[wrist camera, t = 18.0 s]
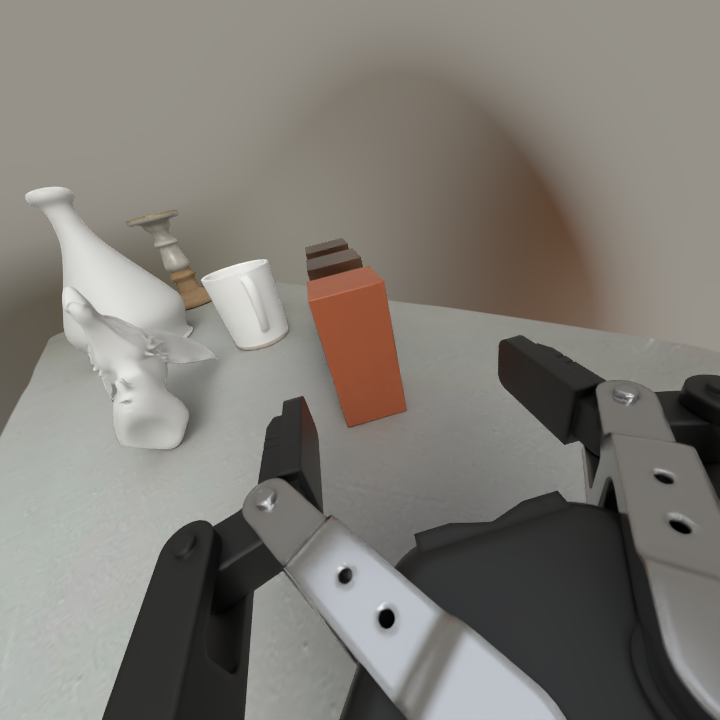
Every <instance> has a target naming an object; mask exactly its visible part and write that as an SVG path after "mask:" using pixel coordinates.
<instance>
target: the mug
mask: <svg viewBox="0 0 720 720" xmlns="http://www.w3.org/2000/svg"><path fill="white" fill-rule="evenodd" d="M201 282H202V284H203V285H204V287H205V289H206V291H207V293H208V295H209V296H210V298H211V300H212V302H213V304H214V305H215V307H216V309H217V311H218V313H219V314H220V316H221V318H222V320H223V322H224V324H225V325H226V327H227V329H228V331H229V333H230V334H231V336H232V338H233V340H234V342H235V344H236V345H237V347H238V348H240V349H241V350H256V349H260V348H264V347H267V346H269V345H272V344H274V343H276V342H278V341H279V340H281V339H282V338H284V337H285V336H286V335H287V333H288V331H289V326H288V323H287V320H286V316H285V313H284V310H283V307H282V304H281V301H280V297H279V294H278V291H277V288H276V285H275V282H274V278H273V275H272V272H271V269H270V266H269V263H268V261H267V260H265V259H261V260H254V261H249V262H244V263H241V264H237V265H233V266H230V267H227V268H224V269H221V270H218V271H216V272H213V273H211V274H209V275H207V276H205V277H204V278H202V279H201Z"/></svg>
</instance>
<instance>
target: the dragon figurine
mask: <svg viewBox="0 0 720 720" xmlns="http://www.w3.org/2000/svg"><path fill="white" fill-rule="evenodd" d="M62 304H63V308H64V310H65V312H67V313H68V314H70V315H71V316H72V318H73V319H74V320H75V321H76V322H77V323H78V324H80V325H81V327H82V328H83V330H84V332H85V334H86V336H87V339H88V355H89V357H90V363H91V364H93V365H94V368H93V370H94V371H97V370H99V376H101V377H102V381H103V384H104V387H105V389H106V391H107V393H108V394H109V396H110V398H111V400H112V398H113V397H114V395H115V394H116V396H115V399H114V401H113V400H112V401H113V402H114V404H113V424H114V430H115V434H116V437H117V440H118V441H119V443H120V444H122V445H124V446H127V447H131V448H140V449H173V448H175V447H177V446H178V445H179V444H180V443H181V442H182V440H183V437H184V434H185V430H186V427H187V423H188V419H189V412H188V409H187V408H186V406H185V405H184V404H183V403H182V402H181V401H180V400H179V399H178V398H176V397H175V396H173V395H172V394H171V393H170V392H168V391H167V389H166V380H167V363H168V362H172V363H177V364H188V363H194V362H198V361H204V360H207V359H212V358H216V359H218V358H217V357H216V356H215V355H214V354H213V353H212V352H211V351H210V350H209V349H208V348H206V347H205V346H204V345H202V344H200V343H198V342H196V341H194V340H192V339H190V338H187V337H184V336H181V335H178V334H175V333H172V332H166V331H160V330H153V329H144V328H137V327H135V326H133V325H132V324H130V323H128V322H126V321H124V320H122V319H119V318H117V317H114V316H109V315H101V314H100V313H98V312H97V311H96V309H95V308H94V307H93V306H92V304H91V303H90V302H89V301H88V300H87V299H86V298H85V297H84V296H83V295H82V294H81V293H80V292H79V291H78V290H76V289H75V288H73V287H70V286H67V287H65V288H64V290H63V294H62Z"/></svg>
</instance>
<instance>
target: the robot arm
mask: <svg viewBox="0 0 720 720" xmlns="http://www.w3.org/2000/svg"><path fill="white" fill-rule="evenodd" d="M498 376H499V379H500V382H501V384H502V385H503V387H504V388H505V389H506V390H507V391H508V392H509V393H510V394H511V395H513V396H514V397H515V398H516V399H517V400H518V401H519V402H520V403H521V404H522V405H523V406H524V407H525V408H526V409H527V410H528V411H529V412H530V413H531V414H533V415H534V416H535V417H536V418H537V419H538V420H539V421H540V422H541V423H542V424H543V425H544V426H545V427H546V428H547V429H548V430H549V431H550V432H551V433H553V434H554V435H555V436H556V437H557V438H558V439H559V440H560V441H561V442H562V443H563V444H564V445H566V444H569V443H573V442H576V441H580V442H581V443H582V444H583V447H582V460H583V469H584V479H585V488H586V503H578V502H567V501H566V500H565V499H564V498H563V496H562V495H561V494H560V493H559V492H558V491H555V492H551V493H548V494H545V495H541V496H538V497H535V498H532V499H528V500H525V501H522V502H521V503H519V504H518V505H516V506H515V507H513V508H512V509H510V510H509V511H508V512H506V513H505V514H503V515H502V516H500V517H499V518H497V519H496V520H494V521H491V522H476V523H449V524H446V525H443V526H439V527H436V528H433V529H429V530H426V531H423V532H420V533H416V534H414V536H415V540H416V545H417V546H416V547H415V548H413V549H412V550H410V551H409V552H408V553H407V554H406V555H405V556H404V557H403V558H402V559H401V560H400V561H399V562H398V563H397V565H396V566H395V568H394V567H393V566H391V565H390V564H389V563H388V562H387V561H386V560H385V559H383V558H382V557H381V556H380V555H379V554H378V553H376V552H375V551H374V550H373V549H372V548H371V547H369V546H368V545H367V544H366V543H365V542H364V541H362V540H361V539H360V538H359V537H358V536H357V535H356V534H354V533H353V532H352V531H351V530H350V529H349V528H347V527H346V526H345V525H344V524H343V523H342V522H340V521H339V520H338V519H337V518H335V517H334V516H332V515H330V516H329V517H326V516H324V515H323V500H322V484H321V469H320V453H319V439H318V433H317V429H316V426H315V423H314V421H313V418H312V416H311V413H310V411H309V408H308V406H307V403H306V401H305V399H304V397H303V396H301V397H297V398H293V399H290V400H286V401H284V402H283V411H282V415H281V416H277V417H274V418H273V419H272V421H271V422H270V424H269V425H268V427H267V430H266V436H265V442H264V450H263V455H262V461H261V468H260V474H259V481H258V485H257V486H256V487H255V488H253V489H252V490H251V492H250V493H249V494H248V496H247V497H246V499H245V501H244V504H243V508H242V509H241V510H239V511H238V512H237V513H235V514H233V515H232V516H230V517H228V518H227V519H225V520H223V521H222V522H220V523H218V524H217V525H215V526H212V525H211V524H210V523H209V522H207V521H204V520H199V521H194V522H191V523H189V524H187V525H185V526H183V527H182V528H181V529H179V530H178V531H177V532H176V533H174V534H173V535H172V536H171V538H170V539H169V540H168V541H167V542H166V544H165V545H164V547H163V549H162V550H161V552H160V555H159V557H158V560H157V563H156V566H155V569H154V572H153V575H152V577H151V580H150V583H149V586H148V589H147V592H146V595H145V598H144V600H143V603H142V606H141V609H140V612H139V615H138V618H137V620H136V623H135V626H134V629H133V632H132V635H131V638H130V641H129V643H128V646H127V649H126V652H125V655H124V658H123V661H122V663H121V666H120V669H119V672H118V675H117V678H116V681H115V684H114V686H113V689H112V692H111V695H110V698H109V701H108V704H107V706H106V709H105V712H104V715H103V718H102V720H244V719H245V705H246V691H247V678H248V664H249V651H250V637H251V623H252V610H253V596H254V590H256V589H257V588H259V587H260V586H261V585H263V584H264V583H266V582H267V581H269V580H270V579H272V578H273V577H274V576H276V575H277V574H279V573H280V572H282V571H283V572H284V573H285V575H286V576H287V577H288V578H289V580H290V581H291V582H292V583H293V585H294V586H295V587H296V589H297V590H298V591H299V592H300V594H301V595H302V596H303V597H304V599H305V600H306V601H307V603H308V604H309V605H310V606H311V608H312V609H313V610H314V612H315V613H316V614H317V615H318V617H319V618H320V619H321V621H322V622H323V623H324V625H325V626H326V627H327V629H328V630H329V631H330V633H331V634H332V635H333V636H334V638H335V639H336V640H337V642H338V643H339V644H340V645H341V647H342V648H343V649H344V651H345V652H346V653H347V654H348V656H349V657H350V658H351V660H352V661H353V662H354V663H355V665H356V666H357V669H356V672H355V675H354V678H353V681H352V684H351V687H350V690H349V693H348V696H347V699H346V702H345V705H344V708H343V711H342V713H341V716H340V719H339V720H720V376H717V375H696V376H692V377H689V378H687V379H686V380H685V383H684V385H683V387H682V390H681V391H667V392H653V391H652V390H650V389H649V388H647V387H645V386H643V385H640V384H638V383H634V382H630V381H624V380H610V381H606V380H604V379H603V378H601V377H599V376H598V375H596V374H594V373H593V372H591V371H590V370H588V369H586V368H585V367H583V366H581V365H580V364H578V363H576V362H573V360H571V359H570V358H568V357H566V356H563V354H562V353H560V352H558V351H557V350H555V349H553V348H551V347H548V346H545V345H541V344H538V343H537V344H535V343H533V342H532V341H530V340H529V339H527V338H526V337H524V336H522V335H519V336H516V337H512V338H508V339H505V340H502V341H500V343H499V357H498Z"/></svg>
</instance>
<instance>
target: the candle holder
mask: <svg viewBox="0 0 720 720" xmlns="http://www.w3.org/2000/svg"><path fill="white" fill-rule="evenodd" d="M177 215H178V212H177V211H176V210H172V211H166V212H161V213H156V214H152V215H148V216H143V217H139V218H135V219H132V220H129V221H127V222H126V224H127V225H128V226H129V227H134V226H141V227H143V229H144V230H145V231H147V232H149V233H151V234H152V236H153V237H154V239H155V244H154V247H156V248H158V249H159V250H160V252H161V255H162V259H163V264H164V267H165V269H166V270H167V271H169V272H171V275H170V280H171V281H173V282H175V283H176V285H177V287H178V290H179V295H180V296H181V297H182V298H183V300H184V303H185V310H187V309H191V308H194V307H197V306H200V305H203V304H205V303H207V302H210V301H212V300H211V298H210V296H209V295H208V293H207V291H206V289H205V287H204V286H200V285H199V284H198V282H197V281H196V279H195V271H194V270H192V269H190V268H188V267H189V260H188V259H187V258H186V257H185V255H183V253H182V252H181V251H180V250H179V248H178V246H177V245H176V243H177V242H178V240H177V239H175V238H173V237H172V236H171V235H170V233H169V227H170V223H169V219H171V218H173V217H176V216H177Z"/></svg>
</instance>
